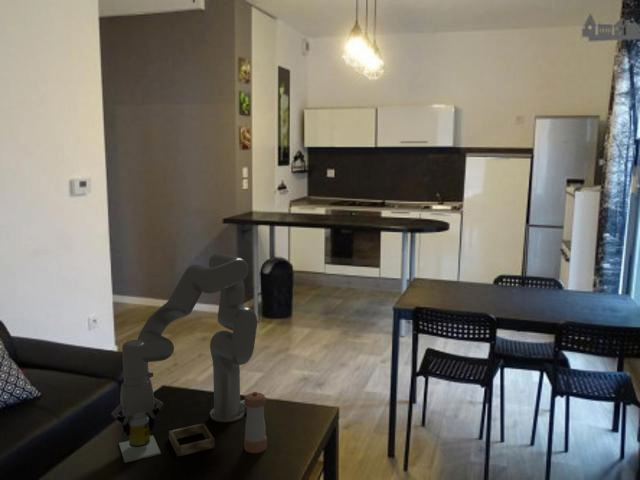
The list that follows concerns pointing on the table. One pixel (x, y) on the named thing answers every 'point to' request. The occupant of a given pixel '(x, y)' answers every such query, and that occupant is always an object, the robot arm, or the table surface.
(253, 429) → the pepper shaker
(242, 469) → the table surface
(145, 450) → the ceramic tile
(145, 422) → the pill bottle
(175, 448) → the oak cradle
